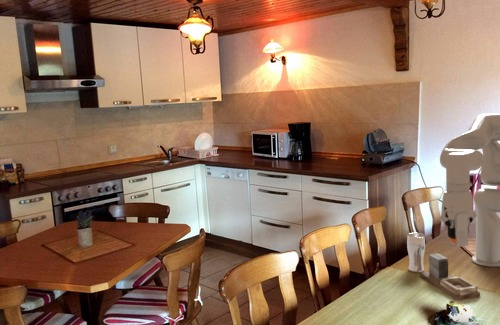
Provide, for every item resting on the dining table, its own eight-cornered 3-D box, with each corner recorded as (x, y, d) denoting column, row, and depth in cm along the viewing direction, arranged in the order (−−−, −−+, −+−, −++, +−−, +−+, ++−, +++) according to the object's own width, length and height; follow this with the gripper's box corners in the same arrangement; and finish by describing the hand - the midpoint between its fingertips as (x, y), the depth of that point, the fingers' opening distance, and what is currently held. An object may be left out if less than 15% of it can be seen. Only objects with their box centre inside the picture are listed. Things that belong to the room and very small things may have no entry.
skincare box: (448, 241, 162) (447, 210, 160) (459, 240, 162) (459, 209, 160) (457, 247, 156) (457, 214, 154) (468, 246, 156) (468, 213, 154)
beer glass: (426, 272, 180) (426, 237, 178) (408, 272, 181) (408, 237, 179) (423, 266, 187) (423, 232, 185) (406, 266, 188) (405, 232, 186)
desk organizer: (439, 273, 179) (439, 250, 178) (480, 296, 157) (480, 270, 155) (419, 276, 177) (419, 253, 176) (457, 300, 155) (457, 274, 154)
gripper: (471, 183, 161) (471, 231, 164) (430, 188, 158) (430, 237, 161) (486, 186, 154) (486, 237, 156) (443, 191, 151) (443, 243, 153)
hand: (458, 236), depth 158 cm, fingers closed on skincare box, 4 cm apart
